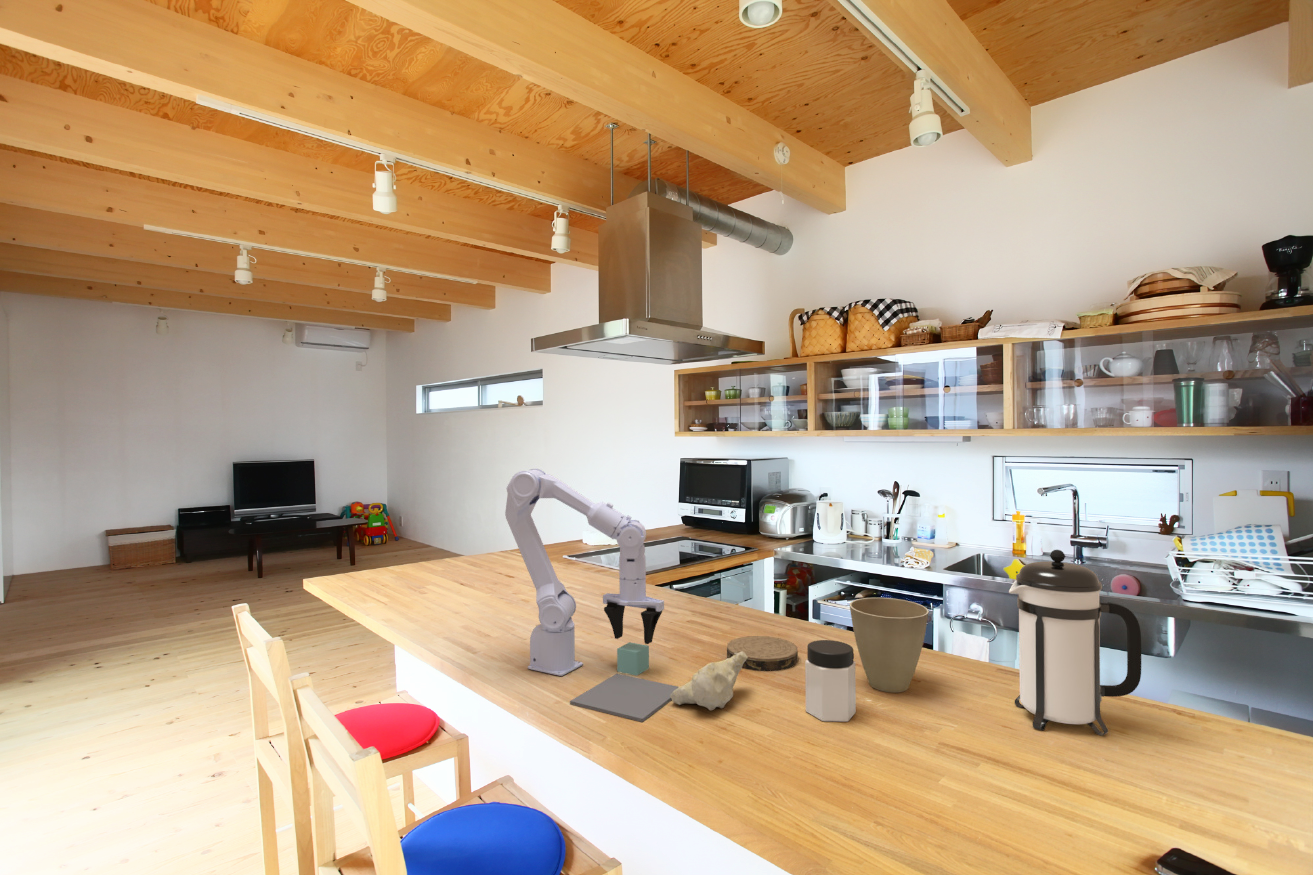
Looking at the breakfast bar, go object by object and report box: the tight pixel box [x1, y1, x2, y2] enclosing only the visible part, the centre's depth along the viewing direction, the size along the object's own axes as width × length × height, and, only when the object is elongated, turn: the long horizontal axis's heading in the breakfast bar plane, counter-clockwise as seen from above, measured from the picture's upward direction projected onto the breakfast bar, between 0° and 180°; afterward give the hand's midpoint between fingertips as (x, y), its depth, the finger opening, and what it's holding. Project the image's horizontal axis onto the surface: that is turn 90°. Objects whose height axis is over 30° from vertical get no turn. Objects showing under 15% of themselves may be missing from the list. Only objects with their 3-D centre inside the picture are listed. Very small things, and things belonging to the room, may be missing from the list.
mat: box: [569, 673, 679, 723], centre depth 124 cm, size 16×16×1 cm
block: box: [616, 641, 650, 677], centre depth 139 cm, size 5×5×5 cm
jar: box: [804, 639, 857, 723], centre depth 116 cm, size 9×8×12 cm
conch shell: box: [671, 652, 748, 711], centre depth 121 cm, size 15×7×15 cm
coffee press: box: [1008, 549, 1142, 737], centre depth 113 cm, size 17×16×30 cm
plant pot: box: [849, 597, 930, 694], centre depth 129 cm, size 15×15×16 cm
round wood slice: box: [726, 635, 799, 672], centre depth 145 cm, size 16×16×3 cm
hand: (633, 640), depth 139 cm, fingers open, 7 cm apart
